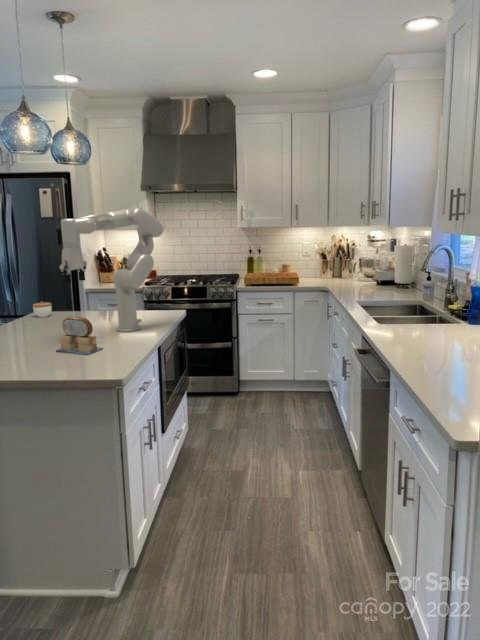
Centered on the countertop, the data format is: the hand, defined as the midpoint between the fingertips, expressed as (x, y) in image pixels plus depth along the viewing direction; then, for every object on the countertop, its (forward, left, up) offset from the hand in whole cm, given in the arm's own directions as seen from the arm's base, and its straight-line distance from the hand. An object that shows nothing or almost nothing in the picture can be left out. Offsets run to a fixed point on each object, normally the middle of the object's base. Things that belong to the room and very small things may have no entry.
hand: (75, 281), depth 236 cm
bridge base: (+17, +14, -28) cm, 36 cm away
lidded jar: (-39, -63, -28) cm, 80 cm away
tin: (+17, +14, -22) cm, 31 cm away
